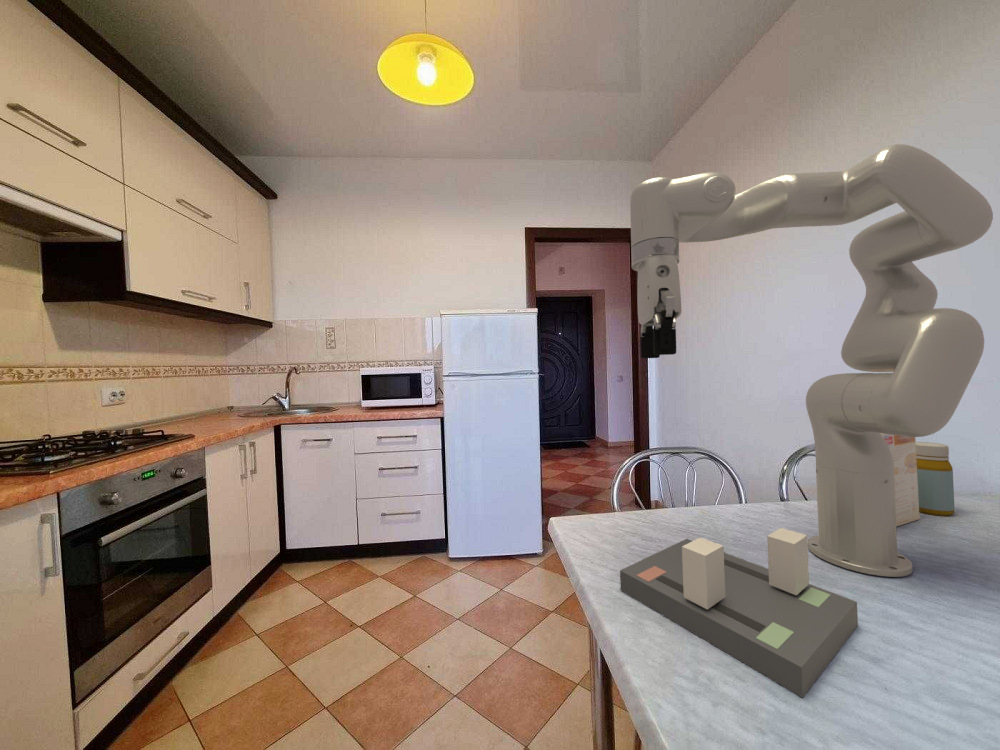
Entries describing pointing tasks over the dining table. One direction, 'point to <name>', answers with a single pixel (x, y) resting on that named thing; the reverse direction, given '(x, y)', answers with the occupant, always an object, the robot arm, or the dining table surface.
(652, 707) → the dining table surface
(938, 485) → the bottle
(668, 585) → the breaker panel
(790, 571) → the block
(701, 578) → the block
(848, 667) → the dining table surface
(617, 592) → the dining table surface
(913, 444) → the coffeecake box
